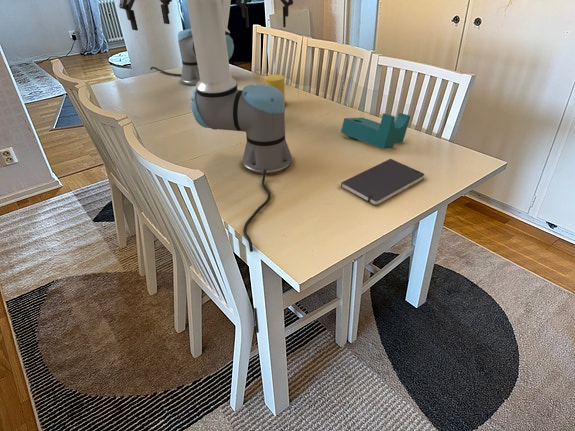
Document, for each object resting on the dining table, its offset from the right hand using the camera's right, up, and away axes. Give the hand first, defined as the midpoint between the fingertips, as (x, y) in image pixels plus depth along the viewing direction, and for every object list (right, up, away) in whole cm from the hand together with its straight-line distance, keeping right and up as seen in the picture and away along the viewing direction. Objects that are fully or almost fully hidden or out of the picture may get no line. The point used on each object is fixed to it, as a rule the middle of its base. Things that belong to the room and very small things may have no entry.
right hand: (265, 27), depth 148 cm
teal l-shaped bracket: (+37, -43, -9) cm, 58 cm away
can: (+3, -23, +19) cm, 30 cm away
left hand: (-43, +1, +2) cm, 43 cm away
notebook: (+35, -60, -33) cm, 77 cm away
